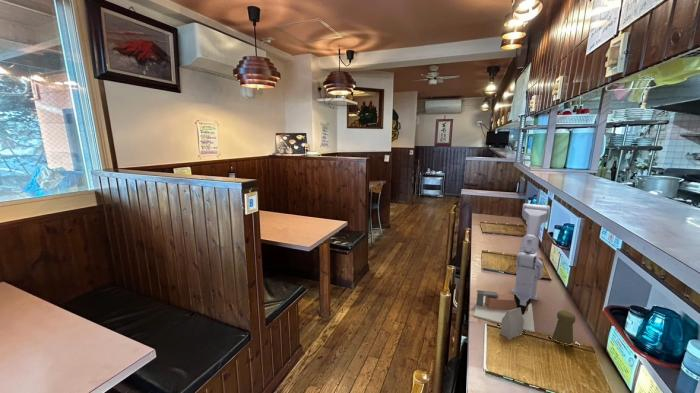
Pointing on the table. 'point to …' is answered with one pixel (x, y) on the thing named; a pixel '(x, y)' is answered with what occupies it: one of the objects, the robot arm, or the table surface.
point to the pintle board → (499, 311)
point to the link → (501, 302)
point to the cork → (564, 327)
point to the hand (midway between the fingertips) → (520, 313)
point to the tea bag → (512, 323)
